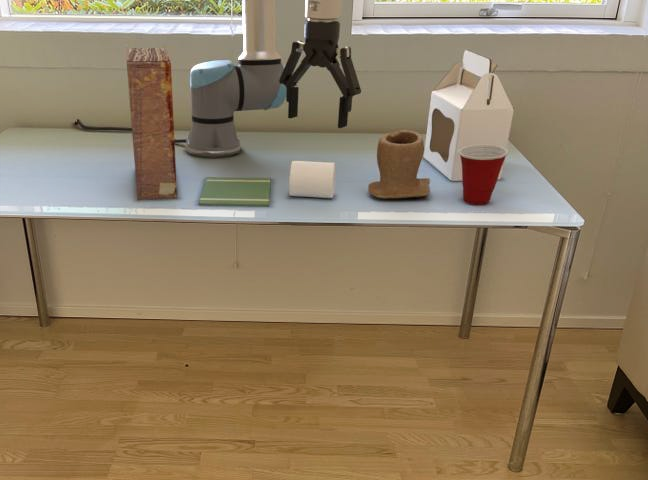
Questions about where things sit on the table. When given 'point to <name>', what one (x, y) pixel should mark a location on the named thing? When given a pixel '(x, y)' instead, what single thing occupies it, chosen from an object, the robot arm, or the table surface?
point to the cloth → (236, 191)
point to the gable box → (466, 114)
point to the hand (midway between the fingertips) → (317, 122)
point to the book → (152, 122)
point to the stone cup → (400, 166)
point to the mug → (312, 179)
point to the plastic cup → (480, 171)
